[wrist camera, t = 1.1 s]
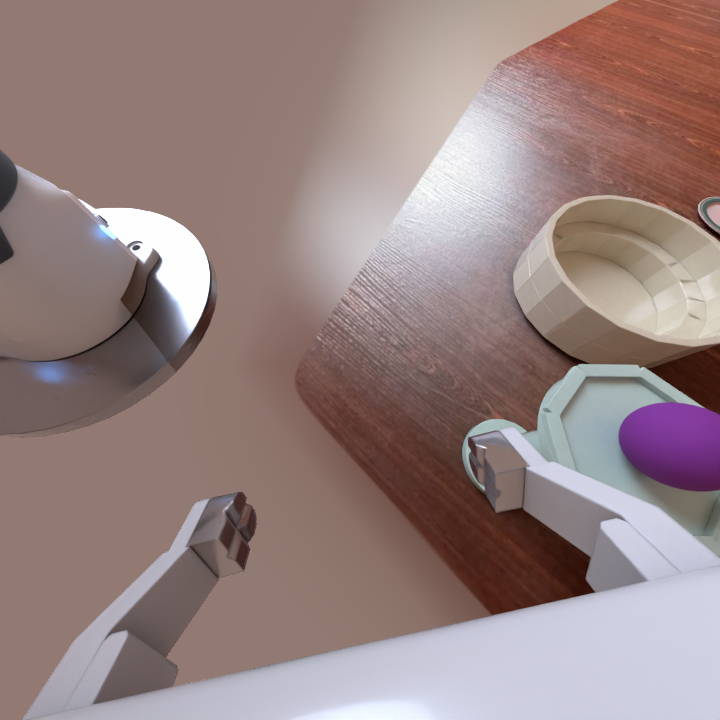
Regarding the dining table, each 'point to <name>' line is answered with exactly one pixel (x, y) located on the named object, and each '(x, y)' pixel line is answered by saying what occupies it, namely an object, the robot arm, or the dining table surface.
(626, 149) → the dining table surface
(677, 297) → the bowl
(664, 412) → the ball
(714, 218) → the apple
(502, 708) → the robot arm
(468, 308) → the dining table surface
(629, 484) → the pedestal stand
